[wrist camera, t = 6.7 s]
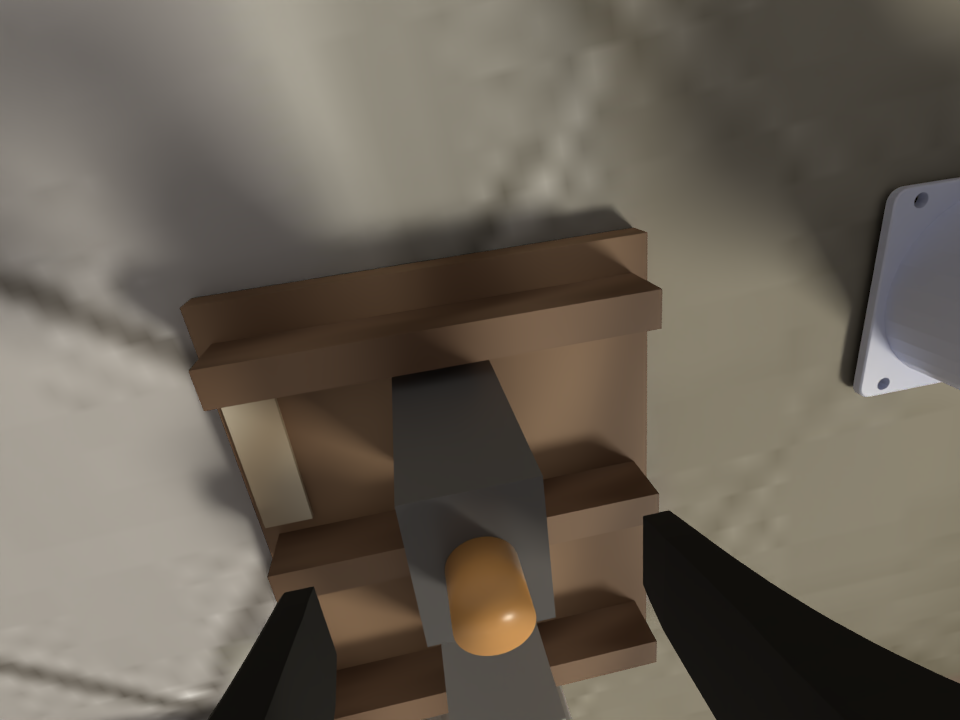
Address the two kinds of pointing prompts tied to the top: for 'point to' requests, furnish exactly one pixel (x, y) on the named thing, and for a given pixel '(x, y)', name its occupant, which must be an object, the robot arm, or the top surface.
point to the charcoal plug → (470, 510)
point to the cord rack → (369, 441)
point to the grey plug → (501, 683)
